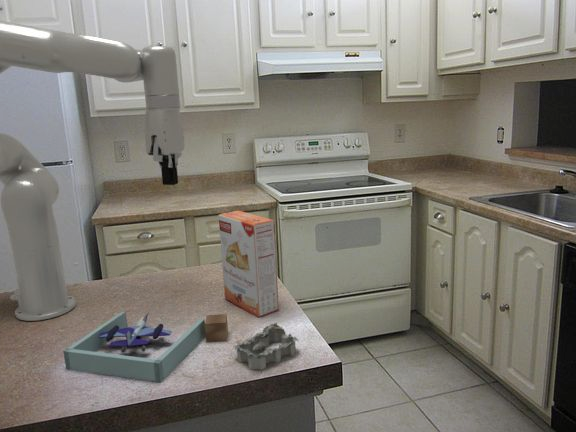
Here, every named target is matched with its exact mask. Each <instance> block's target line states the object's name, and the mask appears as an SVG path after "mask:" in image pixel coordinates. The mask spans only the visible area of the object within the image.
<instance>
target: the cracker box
mask: <svg viewBox="0 0 576 432" xmlns="http://www.w3.org/2000/svg"><path fill="white" fill-rule="evenodd" d="M218 222H219V223H218V225H219V235H220V249H221V250H220V251H221V260H222V261H221V262H222V275H223V288H224V298H225V300H227V301H228V302H231V303H232V304H234V305H236V306H237V307H239V308H241V309H243V310H245V311H247V312H248V313H250V314H252V315H254V316H255V317H257V318H260V317H263V316H266V315H270V314H271V313H274V312H277V311H279V307H280V306H279V290H278V289H279V288H278V271H277V269H278V268H277V266H278V265H277V249H276V246H277V245H276V229H275V220H274V219H270V218H268V217H264V216H260V215H256V214H253V213H249V212H246V211H242V210H234V211H230V212H229V211H228V212H223V213H220V214H218Z"/></svg>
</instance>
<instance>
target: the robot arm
mask: <svg viewBox="0 0 576 432" xmlns="http://www.w3.org/2000/svg"><path fill="white" fill-rule="evenodd" d="M177 65H178V64H177V55H176V50H174V48H172V47H170V46H165V45H152V46H146V47H143V48H142V49H135V48H134V47H133V46H132V45H130V44H128V43H125V42H121V41H117V40H112V39H107V38H101V37H95V36H91V35H84V34H78V33H71V32H65V31H61V30H60V31H59V30H53V29H46V28H41V27H36V26H30V25H24V24H20V23H15V22H14V23H13V22H9V21H5V20H0V75H1V74H2V73H4V72H5V71H6V70H8V69H9V68H11V67H17V68H22V69H23V68H24V69H28V70H35V71H42V72H46V73H52V74H53V73H54V74H62V73H76V74H84V75H90V76H97V77H101V78H107V79H108V78H109V79H114V80H115V81H117V82H120V83H126V84H127V83H133V82H138V81H143V88H144V89H143V90H144V91H143V92H144V100H145V109H146V111H145V116H144V139H145V140H144V141H145V152H146V154H147V155H148V156H153V157H152V159H153V162H157V163H158V165H159V168H160V170H161V179H162V185H165V186H175V185H178V184H179V177H178V176H179V175H178V162H179V161H178V160H179V158H181V156H182V155H183V154H182V152H183V151H184V150H185V134H184V127H183V121H182V120H183V119H182V116H181V112H180V111H181V100H180V91H179V90H180V89H179V77H178V68H177V67H178V66H177ZM0 183H2V184H3V185H4V186H3V188H2V190H1V192H0V206H1V210H2V213H3V217H4V220H5V223H6V227H7V231H8V236H9V241H10V245H11V246H10V247H11V250H12V257H13V262H14V267H15V274H16V278H17V279H16V280H17V284H18V289H15V290H14V291H13V294H11V295H10V297H9V299H10V300H9V301H13V302H17V303H18V306H17V307H16V309H15V310H14V315H15V317H16V319H18V320H21V321H25V322H26V321H27V322H31V321H33V322H34V321H35V322H36V321H42V320H43V321H44V320H47V319H48V320H49V319H52V318H53V319H54V318H56V317H59V316H62V315H64V314H67V313H68V312H70V311H71V310H73V309H74V308H75V307H76V304H77V303H76V299H75V297H74V296H71V295H68V292H67V285H66V284H67V283H66V279H65V271H64V264H63V257H62V252H61V251H62V250H61V245H60V244H61V243H60V238H59V233H58V227H57V223H56V217H55V214H54V212H53V205H54V204H55V202H56V201H57V199H58V198H59V195H60V186H59V183H58V181H57V179H56V178H55V177H54V175H53V174H52V173H51V171H50V170H48V169H47V168H46V167H45V166H44V164H42V163H41V161H39V160H38V159H37V157H35V155H33V153H32V152H31V151H30V150H29V149H28V148H26V147H25V145H23V144H22V143H21V142H20V141H19V140H18V139H16V138H15V137H13V136H11V135H9V134H6V133H0Z"/></svg>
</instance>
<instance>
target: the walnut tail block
mask: <svg viewBox="0 0 576 432" xmlns="http://www.w3.org/2000/svg"><path fill="white" fill-rule="evenodd" d="M205 316H206V317H205V319H204V320H205V335H206V336H205V343H207V344H208V343H219V342H220V343H221V342H228V337H229V336H228V335H229V327H228V326H229V325H228V314H227V313H223V314H222V313H220V314H219V313H218V314H206V315H205Z"/></svg>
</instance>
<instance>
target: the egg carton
mask: <svg viewBox="0 0 576 432" xmlns="http://www.w3.org/2000/svg"><path fill="white" fill-rule="evenodd" d="M296 341H297V342H298V341H299V339H298V338H297V337H296V336H293V335H292V334H291V333H289V334H287V333H286V331H285V329H284V328H283V327H282V326H280V325H279V324H278V322H274V323H270V324H269V325H267V326H266V327H263V330H262V331H261V332H257V333H256V334H254V335H253V336H251V337H249V338H246V339H245V340H244V341H242V342H241V343H238V344H235V345H233V346H232V347H233V348H234V350H236V354H237V358H236V359H237V362H239V363H248V369H249V370H260V371H262V370H265V369H266V368H267V365H266V364H269V363H276V364H277V363H279V362H281V361H282V359H281V358H282V357H283V356H290V357H292V356H294V355H296ZM270 343H281V344H279V345H278V347H277V348H276V347H275V348H271V347H270V348H269V349H268V347H269V346H270Z"/></svg>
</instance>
